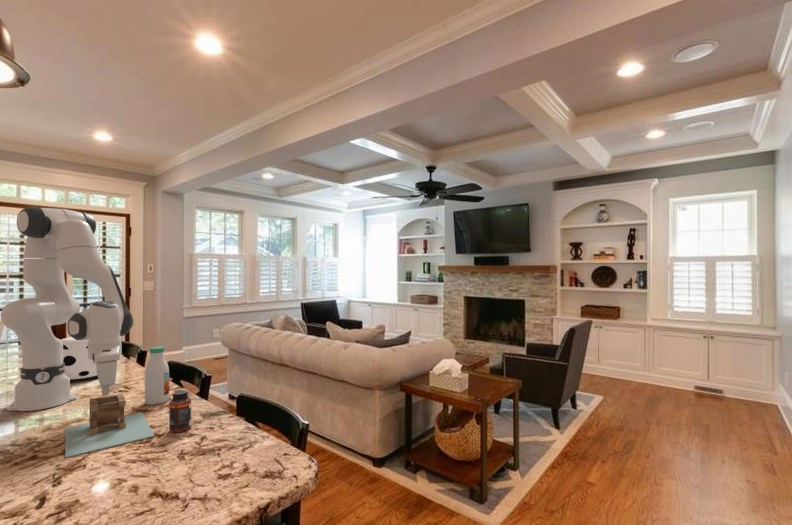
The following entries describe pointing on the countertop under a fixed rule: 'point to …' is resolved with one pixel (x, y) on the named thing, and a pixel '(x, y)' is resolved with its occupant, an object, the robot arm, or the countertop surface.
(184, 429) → the supplement bottle
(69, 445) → the mat
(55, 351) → the robot arm
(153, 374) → the milk bottle
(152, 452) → the countertop surface
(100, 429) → the open wooden box
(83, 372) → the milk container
